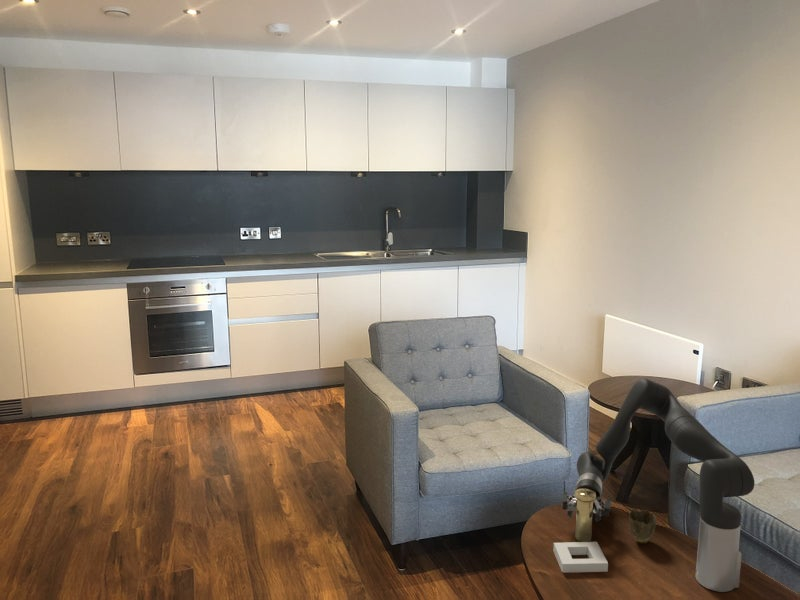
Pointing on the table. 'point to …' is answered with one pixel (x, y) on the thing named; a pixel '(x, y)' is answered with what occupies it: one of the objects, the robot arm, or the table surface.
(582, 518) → the gold flanged cylinder
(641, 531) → the cup
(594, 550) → the frame
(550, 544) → the table surface
